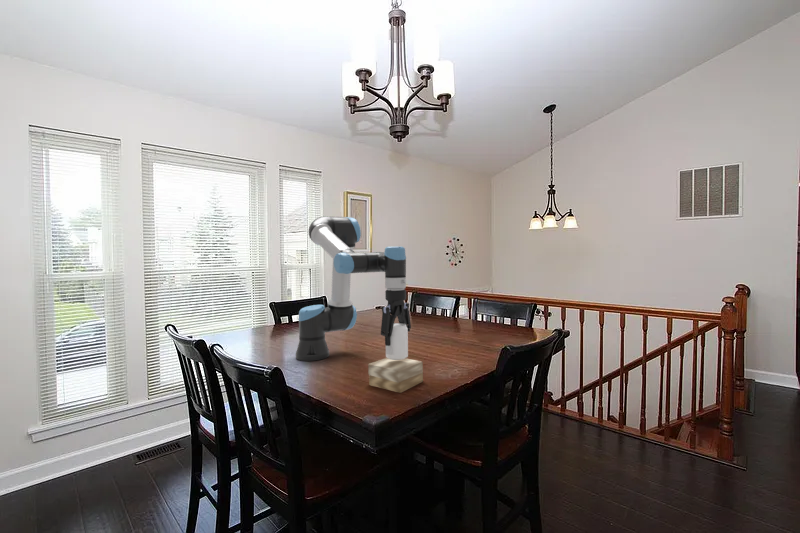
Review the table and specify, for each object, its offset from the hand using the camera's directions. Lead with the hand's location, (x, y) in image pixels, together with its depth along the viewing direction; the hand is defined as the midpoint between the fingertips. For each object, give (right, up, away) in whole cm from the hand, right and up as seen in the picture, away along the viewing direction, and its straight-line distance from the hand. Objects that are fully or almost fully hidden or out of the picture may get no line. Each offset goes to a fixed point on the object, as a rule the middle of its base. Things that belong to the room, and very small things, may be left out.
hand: (396, 351), depth 141 cm
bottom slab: (0, -12, 0) cm, 12 cm away
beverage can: (0, -2, 0) cm, 2 cm away
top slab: (0, -8, 0) cm, 8 cm away
